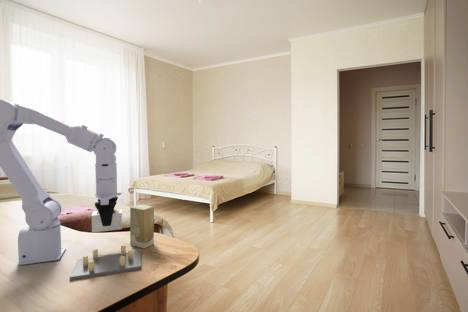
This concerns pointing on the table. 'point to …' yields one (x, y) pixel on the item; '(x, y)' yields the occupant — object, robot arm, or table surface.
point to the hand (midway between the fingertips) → (107, 223)
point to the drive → (115, 223)
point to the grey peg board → (106, 264)
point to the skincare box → (142, 225)
